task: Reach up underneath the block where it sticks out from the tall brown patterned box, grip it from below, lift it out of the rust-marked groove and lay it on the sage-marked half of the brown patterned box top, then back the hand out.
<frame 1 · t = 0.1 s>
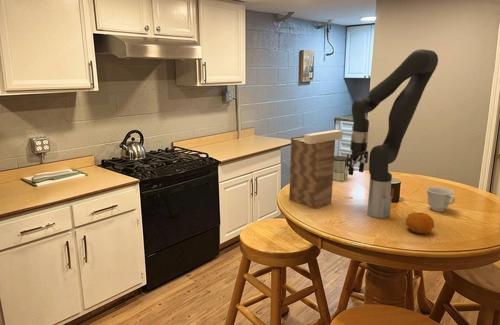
hand: (355, 173, 174), 17 cm above the table, tool pointing down, fingers open, 8 cm apart
block: (323, 140, 176), point 32 cm above the table, touching brown patterned box
teacup: (439, 211, 173), on the table
skincare box: (319, 182, 219), on the table
fruit: (418, 231, 150), on the table
brown patterned box: (309, 201, 185), on the table
coffee can: (338, 179, 225), on the table
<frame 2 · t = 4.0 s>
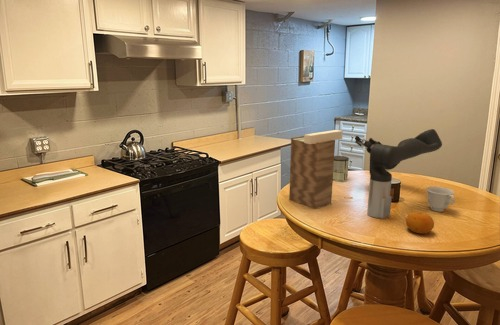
hand: (362, 138, 192), 31 cm above the table, tool pointing upward, fingers open, 8 cm apart
nothing on the table moved.
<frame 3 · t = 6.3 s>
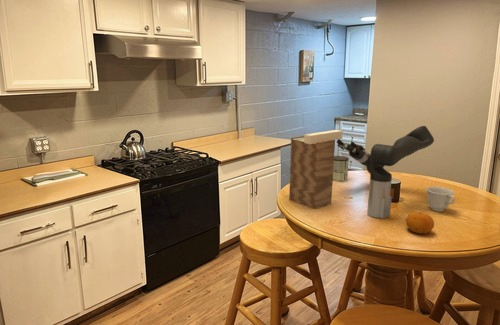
hand: (344, 142, 188), 30 cm above the table, tool pointing upward, fingers open, 8 cm apart
nothing on the table moved.
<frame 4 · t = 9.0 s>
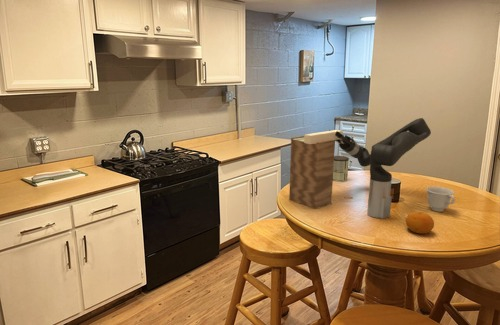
hand: (332, 132, 179), 36 cm above the table, tool pointing upward, fingers closed on block, 4 cm apart
block: (323, 140, 176), point 32 cm above the table, touching gripper, brown patterned box
everything else where it was.
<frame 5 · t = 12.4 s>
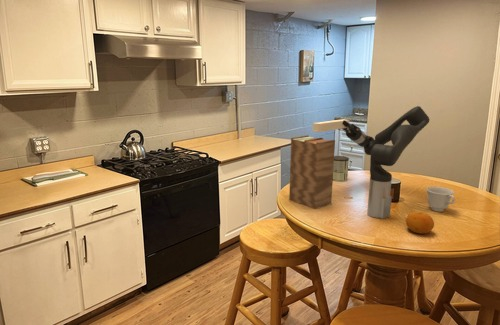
hand: (339, 121, 188), 40 cm above the table, tool pointing upward, fingers closed on block, 4 cm apart
block: (331, 129, 185), point 36 cm above the table, touching gripper
everything else where it was.
when the fingers open (37 cm above the table, at t = 16.1 s): block stays where it is, resting on brown patterned box.
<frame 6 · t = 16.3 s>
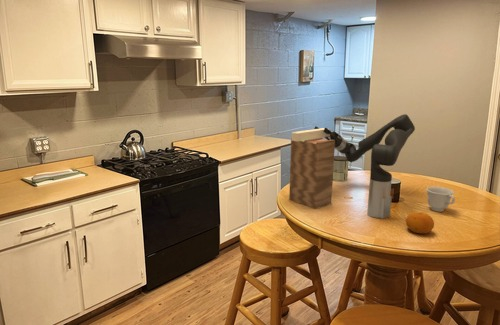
hand: (319, 128, 186), 37 cm above the table, tool pointing upward, fingers open, 6 cm apart
block: (310, 138, 183), point 32 cm above the table, touching brown patterned box
everything else where it was.
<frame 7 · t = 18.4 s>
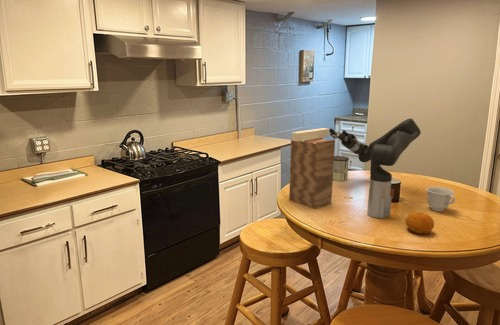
hand: (336, 130, 195), 34 cm above the table, tool pointing upward, fingers open, 8 cm apart
nothing on the table moved.
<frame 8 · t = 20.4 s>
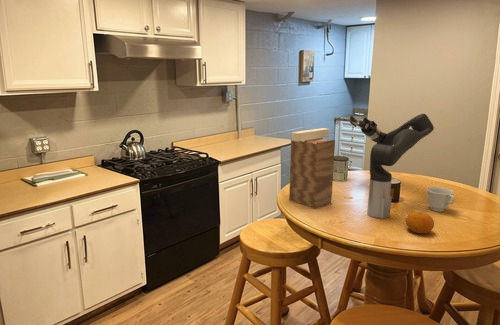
hand: (357, 118, 195), 41 cm above the table, tool pointing upward, fingers open, 8 cm apart
nothing on the table moved.
at the end: block inside the target area (1.0 cm from its centre), point 32.2 cm above the table; the gripper is holding nothing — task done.
